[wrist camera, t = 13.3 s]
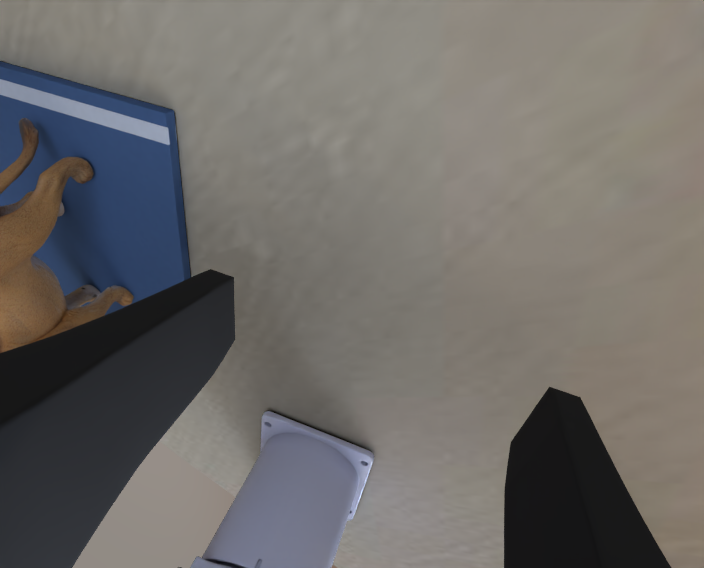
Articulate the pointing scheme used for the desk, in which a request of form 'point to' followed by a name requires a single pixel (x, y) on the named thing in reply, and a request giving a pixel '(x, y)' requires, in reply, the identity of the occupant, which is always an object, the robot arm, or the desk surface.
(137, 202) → the towel
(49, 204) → the lion figurine
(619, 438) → the desk surface
